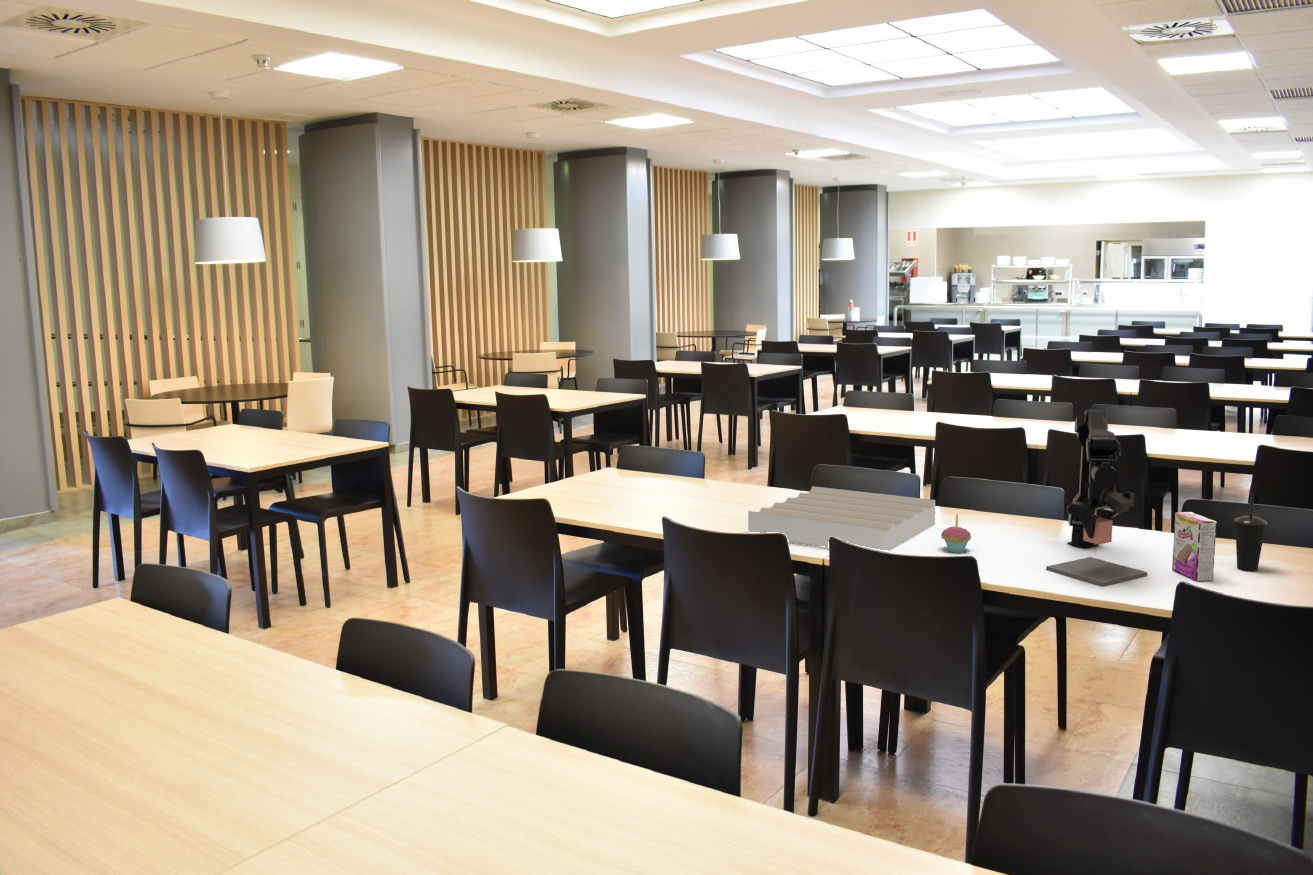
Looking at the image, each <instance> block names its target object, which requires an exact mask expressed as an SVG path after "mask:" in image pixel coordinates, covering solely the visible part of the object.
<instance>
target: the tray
mask: <svg viewBox="0 0 1313 875" xmlns="http://www.w3.org/2000/svg"><path fill="white" fill-rule="evenodd" d="M935 521H936V499H929V498H920V497H912V496H902V495H895V494H885V493H875V492H866V491H857V490H849V489H840V488H832V487H831V488H830V487H823V486H822V487H821V486H820V487H819V486H811V488H810V490H809V492H800V493H798V496H796V497H789V496H788V497H787V498H786V500H785V501H783V502H777V501H776V502H774V503H773V506H770V507H761V508H760V509H759V511H752V510H748V511H747V522H748V523H747V525H748V529H747V530H748V531H749V532H760V533H767V532H779V533H784V534H785V535H786V536H787V538H788V540H789V542H790V543H789V544H794V543H798V544H797V545H801V544H806V545H805V546H808V545H814V546H825V547H828V542H829V537H830V536H835V537H838V538H840V539H842V540H844V541H848V542H849V543H852V544H857V545H860V546H865V547H869V548H875V549H880V550H889V552H891V551H892V550H894V549H896V548H897V547H899V546H901V545H902V544H904V543H906V542H908V541H909V540H911V539H914V538H915V537H916V536H918V535H920V534H921V533H923V532H925V531H926V530H928V529H930V528H932V527H933V526H935V525H936V524H935V523H936V522H935ZM814 546H813V547H814ZM890 550H891V551H890Z"/></svg>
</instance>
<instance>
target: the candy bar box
mask: <svg viewBox="0 0 1313 875" xmlns="http://www.w3.org/2000/svg"><path fill="white" fill-rule="evenodd" d="M1217 523H1218V521H1216V520H1213V519H1211V518H1208V517H1206V516H1203V515H1200V514H1198V513H1195V512H1193V511H1182V512H1181V511H1177V512H1174V526H1173V527H1174V528H1173V545H1172V546H1173V548H1172V549H1173V550H1172V565H1171V566H1172V567H1171V570H1172V571H1174V572H1176V573H1178V574H1180V575H1182V576H1184V577H1185V578H1188V579H1191V580H1193V582H1199V583H1200V582H1202V583H1203V582H1211V581H1212V582H1213V581H1214V571H1215V570H1214V568H1215V556H1216V555H1215V554H1216V539H1217V538H1216V537H1217V536H1216V535H1217Z"/></svg>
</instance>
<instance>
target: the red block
mask: <svg viewBox="0 0 1313 875" xmlns="http://www.w3.org/2000/svg"><path fill="white" fill-rule="evenodd" d="M1113 521H1114V519H1113V520H1109V519H1105V518H1100V517H1099V518H1098V519H1097V520H1096V523H1095V531H1094V536H1093V538H1092V539H1091V538H1089V537H1088V535H1087V533H1086V530H1085V528H1084V536H1083V541H1087V542H1091V543H1095V544H1099V545H1103V544H1108V543H1112V541H1113V540H1112V538H1113Z"/></svg>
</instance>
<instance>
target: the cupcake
mask: <svg viewBox="0 0 1313 875" xmlns="http://www.w3.org/2000/svg"><path fill="white" fill-rule="evenodd" d="M954 525H955V526H950V527H948V528H945V529H943V530H942V532H941V536H940V537H941V539H942V540H944V542H945V544H946V548H947V550H948V551H949V552H952V553H963V552H965V550H966V547H967V545H968V543H969V541H971V539H972V537H971V535H972V534H971V532H970V531H969V530H968V529H966V528H964V527H961V526H959V514H955V524H954Z"/></svg>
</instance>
